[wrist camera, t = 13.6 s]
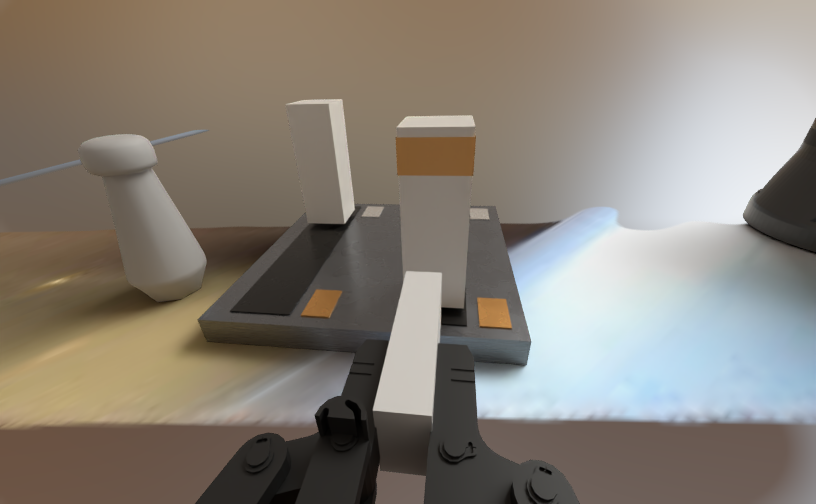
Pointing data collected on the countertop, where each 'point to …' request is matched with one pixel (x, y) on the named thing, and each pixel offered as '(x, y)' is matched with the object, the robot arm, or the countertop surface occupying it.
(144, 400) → the countertop surface
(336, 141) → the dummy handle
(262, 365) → the countertop surface
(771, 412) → the countertop surface
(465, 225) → the handle
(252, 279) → the panel
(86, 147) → the salt shaker
